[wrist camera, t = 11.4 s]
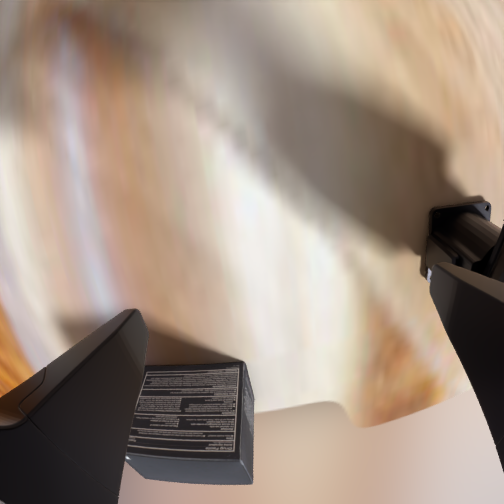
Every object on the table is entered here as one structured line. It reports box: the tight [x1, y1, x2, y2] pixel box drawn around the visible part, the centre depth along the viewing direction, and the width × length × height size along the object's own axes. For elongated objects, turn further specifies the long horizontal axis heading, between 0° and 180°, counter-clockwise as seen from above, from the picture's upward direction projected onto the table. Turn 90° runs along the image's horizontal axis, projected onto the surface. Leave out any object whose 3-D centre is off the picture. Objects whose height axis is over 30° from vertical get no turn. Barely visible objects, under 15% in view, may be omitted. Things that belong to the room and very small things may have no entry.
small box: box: [125, 362, 254, 485], centre depth 24 cm, size 11×6×10 cm, turn 99°
